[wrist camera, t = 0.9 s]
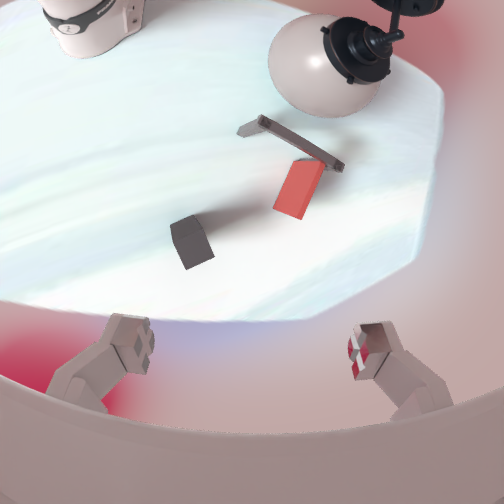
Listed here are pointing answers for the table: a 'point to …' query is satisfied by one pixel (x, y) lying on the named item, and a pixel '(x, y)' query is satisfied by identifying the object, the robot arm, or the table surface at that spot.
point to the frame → (291, 141)
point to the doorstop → (191, 242)
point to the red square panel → (299, 188)
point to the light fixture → (337, 58)
